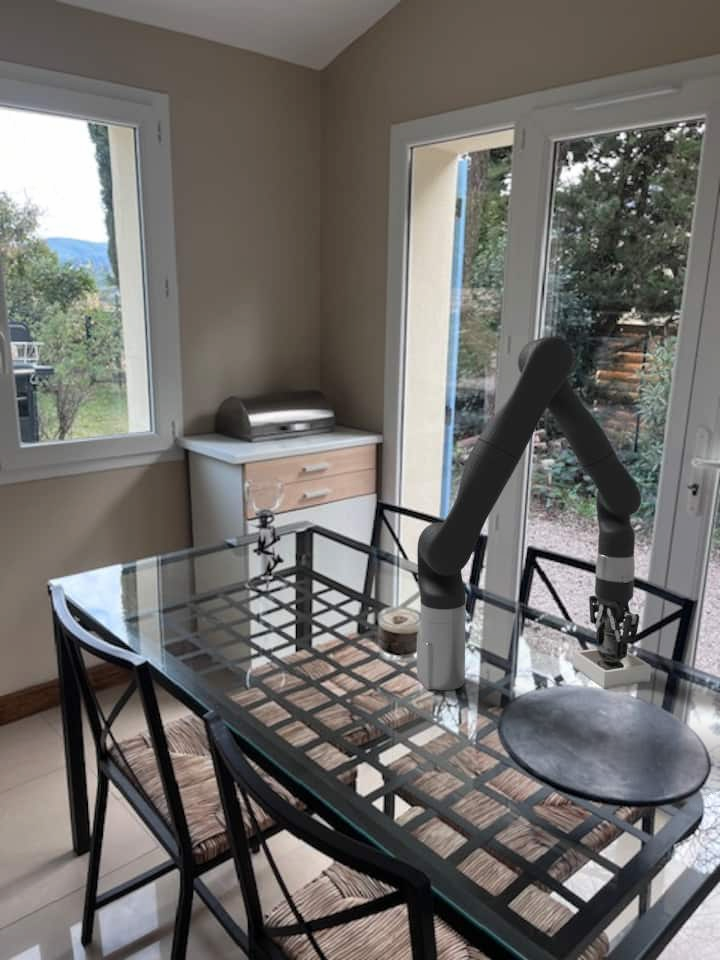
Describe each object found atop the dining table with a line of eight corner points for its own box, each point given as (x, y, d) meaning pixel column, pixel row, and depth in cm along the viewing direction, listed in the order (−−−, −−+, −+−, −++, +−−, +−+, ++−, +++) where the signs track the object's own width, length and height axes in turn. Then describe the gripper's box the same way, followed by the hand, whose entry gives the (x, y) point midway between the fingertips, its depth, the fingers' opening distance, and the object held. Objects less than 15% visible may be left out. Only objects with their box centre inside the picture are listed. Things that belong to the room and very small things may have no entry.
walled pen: (603, 688, 145) (604, 672, 145) (573, 667, 156) (573, 651, 155) (649, 681, 148) (650, 665, 148) (616, 660, 159) (617, 645, 158)
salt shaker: (627, 671, 148) (630, 616, 146) (597, 669, 149) (600, 614, 147) (622, 660, 154) (625, 606, 152) (594, 658, 155) (596, 605, 153)
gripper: (579, 567, 154) (576, 641, 157) (621, 586, 141) (617, 667, 143) (609, 563, 156) (605, 637, 159) (653, 583, 143) (648, 663, 145)
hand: (611, 651), depth 151 cm, fingers closed on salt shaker, 5 cm apart
